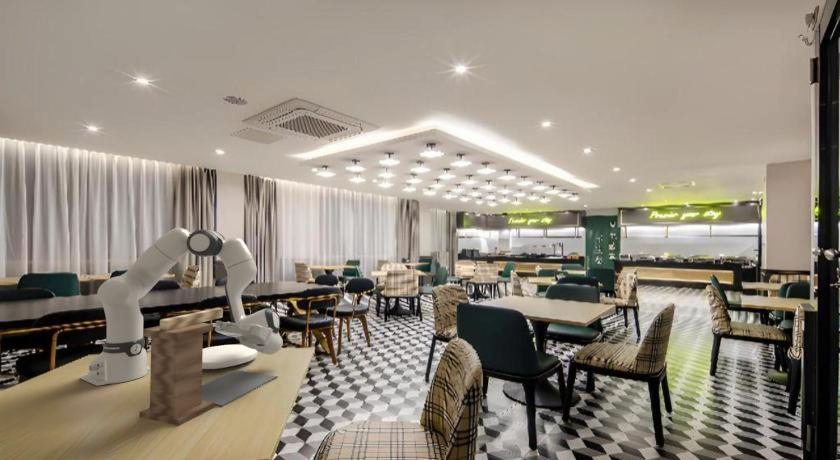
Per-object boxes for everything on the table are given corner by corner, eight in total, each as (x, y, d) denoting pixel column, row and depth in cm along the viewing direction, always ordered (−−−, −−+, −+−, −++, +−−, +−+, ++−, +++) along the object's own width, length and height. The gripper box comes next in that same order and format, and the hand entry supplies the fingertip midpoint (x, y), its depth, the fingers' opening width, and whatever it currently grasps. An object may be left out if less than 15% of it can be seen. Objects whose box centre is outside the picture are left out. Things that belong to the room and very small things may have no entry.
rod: (167, 330, 110) (167, 320, 110) (159, 330, 111) (160, 319, 111) (222, 317, 129) (222, 308, 129) (215, 316, 130) (216, 308, 130)
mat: (174, 398, 125) (174, 396, 125) (235, 371, 149) (235, 370, 149) (222, 406, 118) (222, 404, 118) (277, 377, 143) (277, 376, 143)
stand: (139, 416, 112) (140, 329, 112) (176, 400, 123) (177, 320, 124) (179, 425, 107) (180, 333, 107) (214, 407, 118) (215, 324, 119)
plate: (219, 340, 177) (270, 344, 172) (218, 355, 176) (269, 359, 171) (169, 352, 150) (227, 357, 144) (167, 369, 149) (226, 374, 144)
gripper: (234, 325, 149) (208, 313, 138) (276, 329, 143) (253, 317, 132) (227, 340, 146) (201, 330, 135) (270, 346, 140) (246, 335, 128)
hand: (227, 323), depth 133 cm, fingers open, 8 cm apart
